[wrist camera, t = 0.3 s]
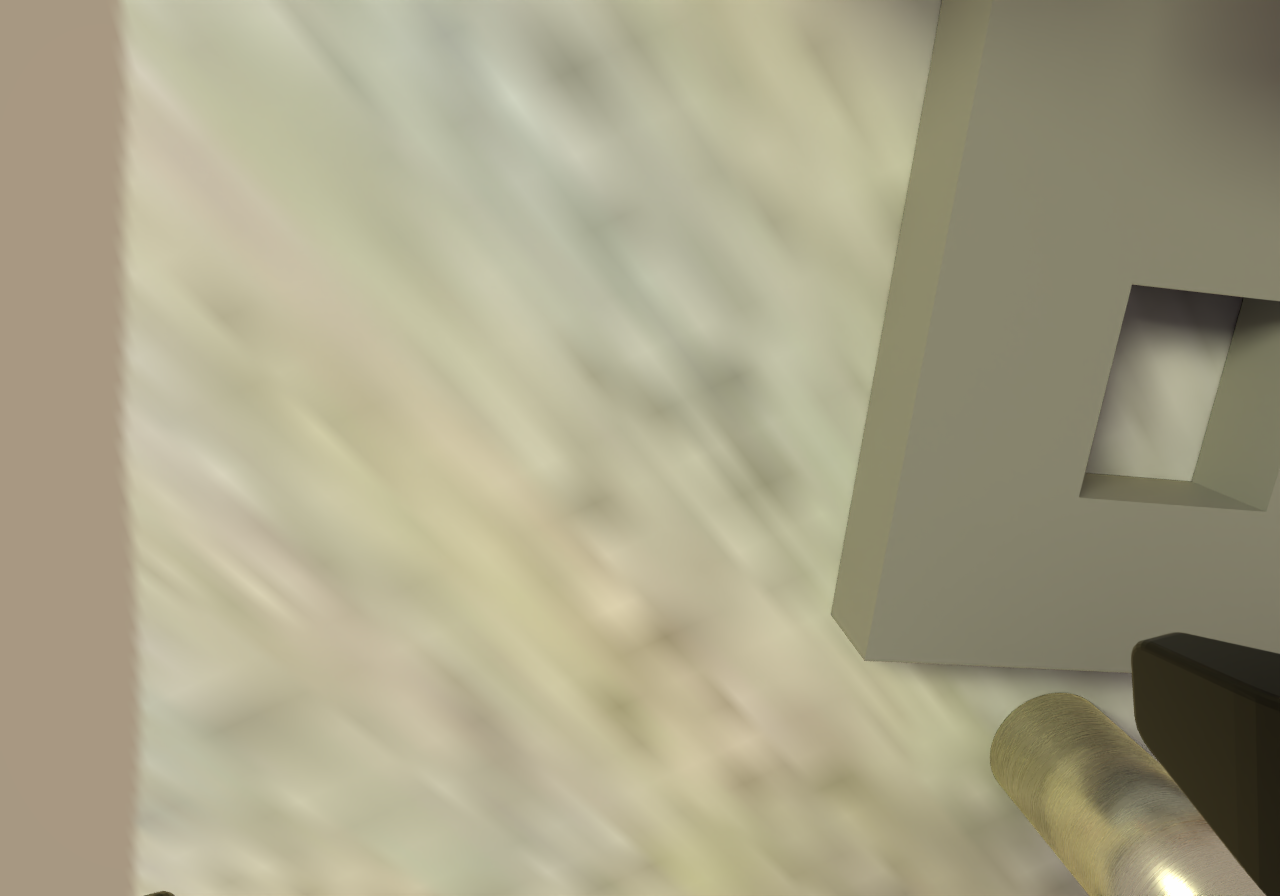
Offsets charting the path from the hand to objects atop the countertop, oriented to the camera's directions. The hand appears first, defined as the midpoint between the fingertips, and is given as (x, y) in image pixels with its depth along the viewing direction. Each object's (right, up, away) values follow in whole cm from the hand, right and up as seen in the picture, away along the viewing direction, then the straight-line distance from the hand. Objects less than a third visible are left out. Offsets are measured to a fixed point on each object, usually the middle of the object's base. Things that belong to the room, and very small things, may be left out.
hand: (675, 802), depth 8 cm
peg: (+12, -6, +17) cm, 22 cm away
